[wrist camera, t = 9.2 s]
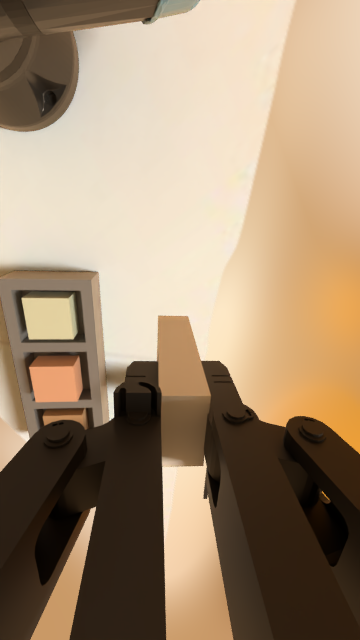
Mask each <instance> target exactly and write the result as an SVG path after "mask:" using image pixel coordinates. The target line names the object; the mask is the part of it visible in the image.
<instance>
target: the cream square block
mask: <svg viewBox="0 0 360 640" xmlns="http://www.w3.org/2000/svg"><path fill="white" fill-rule="evenodd" d="M22 304H23V309H24V315H25V320H26V326H27V331H28V337H29V339H74V337H75V336H76V334H77V333H78V331H79V324H78V315H77V306H76V296H75V292H40V291H31V292H30V293H28V294H27V295H25V296H24V297H22Z"/></svg>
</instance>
